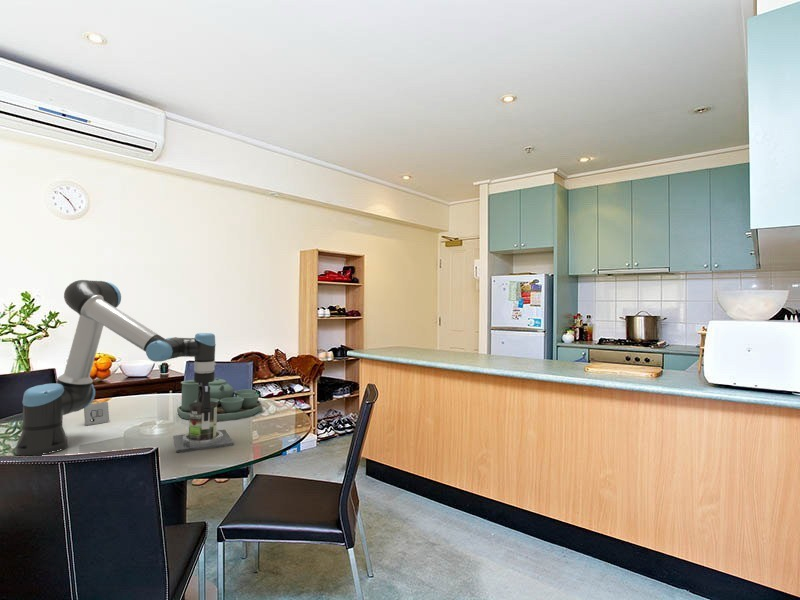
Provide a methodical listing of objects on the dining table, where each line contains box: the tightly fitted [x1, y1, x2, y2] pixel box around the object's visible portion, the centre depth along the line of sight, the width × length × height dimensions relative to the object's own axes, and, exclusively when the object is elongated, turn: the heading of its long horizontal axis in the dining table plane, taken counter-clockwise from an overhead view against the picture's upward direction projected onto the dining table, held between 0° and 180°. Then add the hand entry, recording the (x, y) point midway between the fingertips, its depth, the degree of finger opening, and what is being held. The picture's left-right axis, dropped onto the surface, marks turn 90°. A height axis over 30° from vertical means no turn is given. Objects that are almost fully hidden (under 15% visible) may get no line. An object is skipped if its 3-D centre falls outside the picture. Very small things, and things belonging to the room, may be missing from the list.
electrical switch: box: [83, 401, 110, 426], centre depth 202 cm, size 9×5×9 cm, turn 141°
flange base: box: [172, 429, 235, 453], centre depth 178 cm, size 20×20×2 cm
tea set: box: [176, 377, 263, 422], centre depth 227 cm, size 40×40×16 cm
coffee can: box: [188, 401, 218, 440], centre depth 178 cm, size 10×10×14 cm
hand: (203, 424), depth 178 cm, fingers open, 13 cm apart
